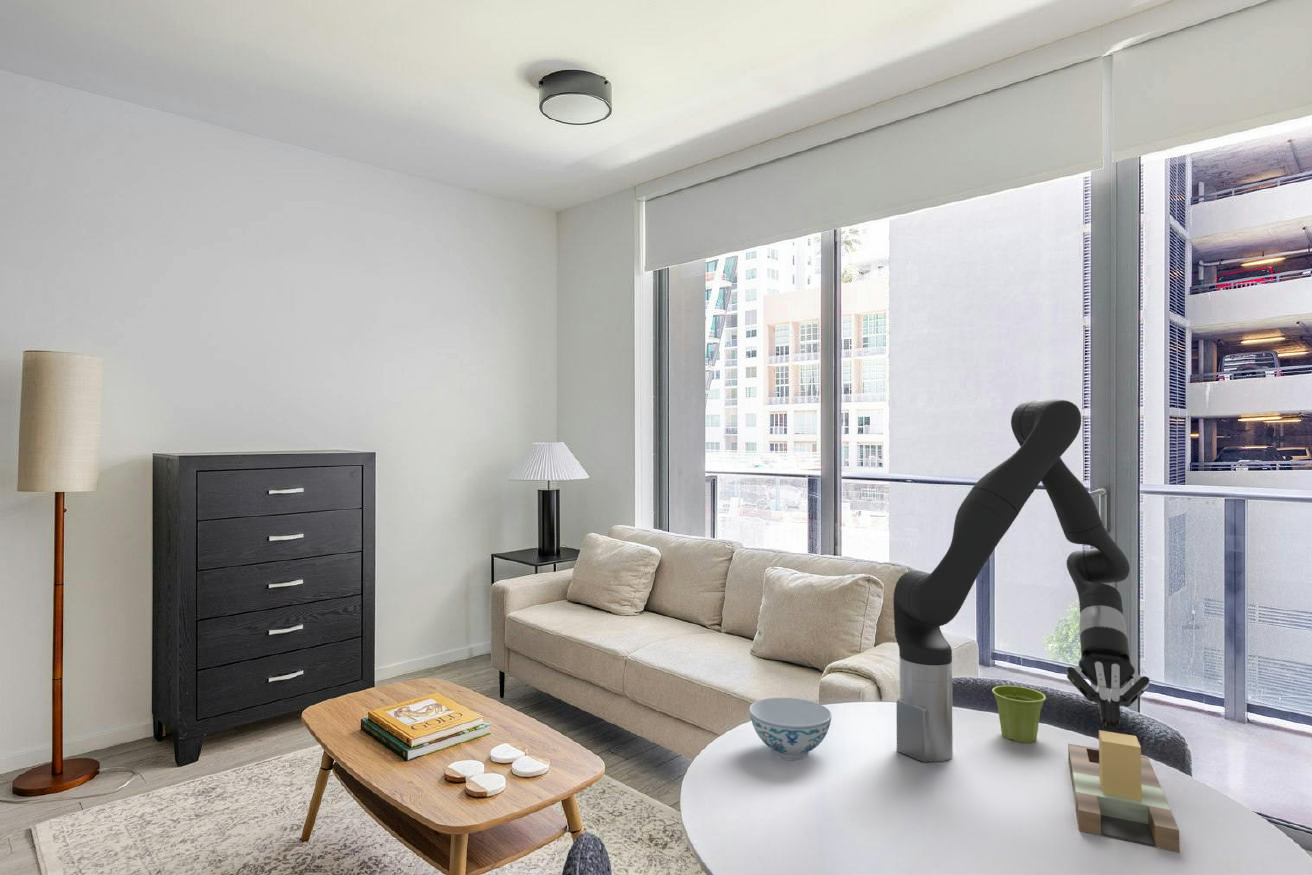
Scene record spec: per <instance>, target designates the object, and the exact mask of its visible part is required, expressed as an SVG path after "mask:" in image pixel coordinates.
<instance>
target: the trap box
mask: <svg viewBox="0 0 1312 875" xmlns="http://www.w3.org/2000/svg"><path fill="white" fill-rule="evenodd" d="M1067 748H1068V750H1067V751H1068V757H1067V758H1068V765H1069V772H1070V778H1071V780H1070V781H1071V786H1072V793H1073V798H1074V800H1073V801H1074V807H1075V813H1076V819H1077V820H1076V821H1077V826H1078V832H1084V833H1089V834H1093V835H1098V836H1103V837H1108V838H1113V839H1117V840H1122V841H1125V842H1126V841H1127V842H1131V843H1135V844H1140V845H1145V846H1149V847H1154V848H1158V849H1163V850H1168V851H1172V852H1176V853H1177V852H1178V853H1180V851H1181V850H1180V848H1181V846H1180V829H1179V826H1178V824H1177V821H1176V820H1175V817H1174V815H1173V812H1172V810H1171V808H1170V806H1169V803H1168V801H1167V798H1166V796H1165V794H1164V792H1163V788H1162V787H1161V784H1160V782H1159V780H1158V777H1157V775H1156V772H1155V770H1154V767H1153V766H1152V765H1153V764H1151V760H1150V758H1149V757H1148V756H1146V755H1141V783H1142V801H1139V800H1134V799H1129V798H1123V797H1118V796H1113V795H1107V794H1103V792H1102V788H1101V784H1100V774H1099V747H1098V748H1097V747H1091V746H1085V745H1079V744H1075V743H1074V744H1073V743H1068V744H1067Z"/></svg>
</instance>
